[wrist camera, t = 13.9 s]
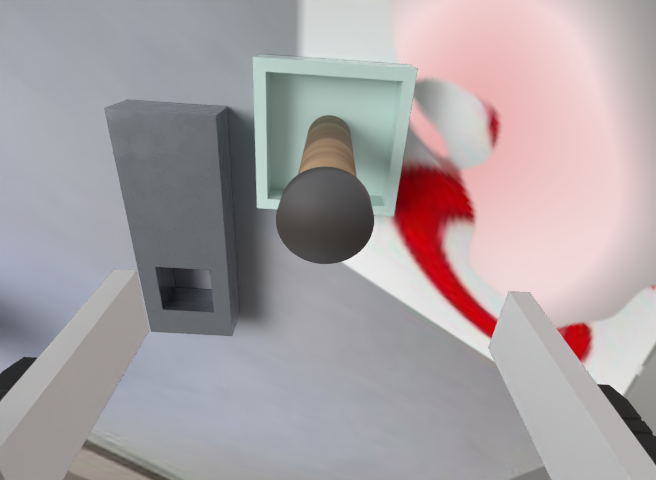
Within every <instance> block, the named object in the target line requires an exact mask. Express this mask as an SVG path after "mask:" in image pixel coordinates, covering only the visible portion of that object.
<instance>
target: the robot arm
mask: <svg viewBox="0 0 656 480" xmlns="http://www.w3.org/2000/svg"><path fill="white" fill-rule="evenodd" d="M148 332H149V326H148V322H147V317H146V312H145V308H144V303H143V299H142V294H141V289H140V285H139V280H138V275H137V271H134V270H116V269H114V270H113V271H112V272H111V274H110V275H109V276H108V277H107V278H106V279H105V281H104V282H103V283H102V284H101V285H100V286H99V288H98V289H97V290H96V291H95V292H94V293H93V294H92V296H91V297H90V298H89V299H88V300H87V301H86V303H85V304H84V305H83V306H82V307H81V308H80V310H79V311H78V312H77V313H76V314H75V315H74V316H73V318H72V319H71V320H70V321H69V322H68V323H67V325H66V326H65V327H64V328H63V329H62V330H61V332H60V333H59V334H58V335H57V336H56V337H55V338H54V340H53V341H52V342H51V343H50V344H49V345H48V347H47V348H46V349H45V350H44V351H43V352H42V354H41V355H40V356H39V357H38V358H31V357H23V358H22V359H20V360H19V361H17V362H16V363H14V364H13V365H11V366H10V367H9V368H7V369H6V370H4V371H3V372H2V373H1V374H0V480H63V478H64V476H65V475H66V473H67V471H68V469H69V468H70V466H71V464H72V463H73V461H74V459H75V457H76V456H77V454H78V452H79V451H80V449H81V447H82V445H83V444H84V442H85V440H86V439H87V437H88V435H89V433H90V432H91V430H92V428H93V426H94V425H95V423H96V421H97V420H98V418H99V416H100V414H101V413H102V411H103V409H104V408H105V406H106V404H107V402H108V401H109V399H110V397H111V396H112V394H113V392H114V390H115V389H116V387H117V385H118V383H119V382H120V380H121V378H122V377H123V375H124V373H125V371H126V370H127V368H128V366H129V365H130V363H131V361H132V359H133V358H134V356H135V354H136V353H137V351H138V349H139V347H140V346H141V344H142V342H143V340H144V339H145V337H146V335H147V334H148ZM488 348H489V351H490V353H491V355H492V357H493V359H494V361H495V363H496V365H497V367H498V369H499V371H500V374H501V376H502V378H503V380H504V382H505V384H506V386H507V388H508V390H509V392H510V394H511V397H512V399H513V401H514V403H515V405H516V407H517V409H518V411H519V413H520V415H521V417H522V419H523V422H524V424H525V426H526V428H527V430H528V432H529V434H530V436H531V438H532V440H533V442H534V445H535V447H536V449H537V451H538V453H539V455H540V457H541V459H542V461H543V463H544V465H545V467H546V469H547V472H548V474H549V476H550V478H551V480H656V436H653V434H652V433H653V432H652V431H651V429H650V428H649V427H648V426H647V424H646V423H645V422H644V421H642V420H641V417H640V415H639V414H638V413H637V412H636V410H635V409H634V408H633V406H632V405H631V404H630V403H629V401H628V400H627V399H626V398H624V397H623V396H622V395H621V394H620V393H618V392H617V391H616V390H615V389H613V388H612V387H611V386H610V385H599V384H596V382H595V381H594V380H593V378H592V377H591V376H590V374H589V373H588V371H587V370H586V369H585V367H584V366H583V365H582V363H581V362H580V360H579V359H578V358H577V356H576V355H575V354H574V352H573V351H572V350H571V348H570V347H569V345H568V344H567V343H566V341H565V340H564V339H563V337H562V336H561V334H560V333H559V332H558V330H557V329H556V328H555V326H554V325H553V323H552V322H551V321H550V319H549V318H548V317H547V315H546V314H545V312H544V311H543V310H542V308H541V307H540V306H539V304H538V303H537V302H536V300H535V299H534V297H533V296H532V295H531V293H530V292H514V291H509V292H508V295H507V298H506V300H505V303H504V306H503V308H502V311H501V314H500V317H499V319H498V322H497V325H496V328H495V330H494V333H493V336H492V339H491V341H490V344H489V347H488Z"/></svg>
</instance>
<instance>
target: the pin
mask: <svg viewBox="0 0 656 480" xmlns="http://www.w3.org/2000/svg"><path fill="white" fill-rule="evenodd" d="M276 225H277V230H278V233H279V236H280V238H281V239H282V241H283V243H284V244H285V245H286V247H287V248H288V249H289V250H290V251H291V252H293V253H294V254H295V255H297V256H298V257H300V258H302V259H304V260H307V261H310V262H314V263H319V264H332V263H338V262H341V261H344V260H347V259H349V258H351V257H353V256H354V255H356V254H357V253H358V252H360V251H361V250H362V249H363V248H364V246H365V245H366V244H367V242H368V241H369V239H370V237H371V234H372V232H373V227H374V214H373V209H372V204H371V200H370V196H369V194H368V191H367V190H366V188H365V186H364V185H363V184H362V182H361V181H360V180H359V179H358V178H357V176H356V169H355V162H354V155H353V148H352V141H351V133H350V130H349V127H348V125H347V124H346V123H345V122H344V121H343V120H342V119H341V118H339V117H336V116H333V115H326V116H322V117H319V118H318V119H316V120H315V121H314V122H313V123H312V124H311V126H310V128H309V130H308V134H307V138H306V143H305V147H304V151H303V155H302V159H301V163H300V167H299V172H298V175H297V176H296V177H294V178H293V179H292V180H291V181H290V182H289V183H288V185H287V186H286V188H285V189H284V191H283V194H282V196H281V199H280V203H279V206H278V210H277V214H276Z"/></svg>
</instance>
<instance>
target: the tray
mask: <svg viewBox="0 0 656 480" xmlns="http://www.w3.org/2000/svg"><path fill="white" fill-rule="evenodd" d="M417 70H418V69H417V68H416V67H414V66H412V65H407V64H393V63H379V62H365V61H351V60H337V59H323V58H308V57H294V56H280V55H266V54H258V55H256V56H254V57H253V86H254V121H255V157H256V192H257V208H263V209H278V206H279V203H280V199H281V196H282V194H283V191H284V189H285V188H286V186H287V185H288V183H289V182H290V181H291V180H292V179H293V178H294V177H296V176H297V175H298V172H299V167H300V163H301V159H302V155H303V151H304V147H305V143H306V138H307V134H308V130H309V128H310V126H311V124H312V123H313V122H314V121H315V120H316V119H318V118H319V117H322V116H326V115H333V116H336V117H339V118H341V119H342V120H343V121H344V122H345V123H346V124H347V125H348V127H349V130H350V133H351V141H352V148H353V155H354V162H355V169H356V176H357V178H358V179H359V180H360V181H361V182H362V184H363V185H364V186H365V188H366V190H367V191H368V194H369V196H370V200H371V204H372V209H373V214H374V215H375V216H391V217H394V212H395V205H396V199H397V193H398V187H399V181H400V175H401V168H402V162H403V156H404V150H405V144H406V138H407V131H408V125H409V119H410V113H411V107H412V101H413V94H414V88H415V82H416V76H417Z"/></svg>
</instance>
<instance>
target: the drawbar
mask: <svg viewBox="0 0 656 480" xmlns="http://www.w3.org/2000/svg"><path fill="white" fill-rule="evenodd" d="M104 109H105V114H106V119H107V123H108V128H109V133H110V138H111V143H112V147H113V152H114V157H115V162H116V166H117V171H118V176H119V181H120V186H121V190H122V195H123V200H124V205H125V209H126V214H127V219H128V224H129V229H130V233H131V238H132V243H133V248H134V252H135V257H136V262H137V267H138V271H139V276H140V281H141V286H142V291H143V295H144V300H145V305H146V310H147V314H148V319H149V324H150V329H151V332H168V333H186V334H204V335H222V336H232V335H233V332H234V329H235V326H236V323H237V320H238V316H239V313H240V310H239V293H238V276H237V260H236V243H235V227H234V210H233V194H232V177H231V161H230V144H229V128H228V111H227V106H213V105H199V104H184V103H169V102H154V101H140V100H125V101H122V102H119V103H117V104H114V105H112V106H109V107H106V108H104ZM173 268H185V269H202V270H210V276H211V286H212V289H194V288H177V287H176V285H175V279H174V273H173Z"/></svg>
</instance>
